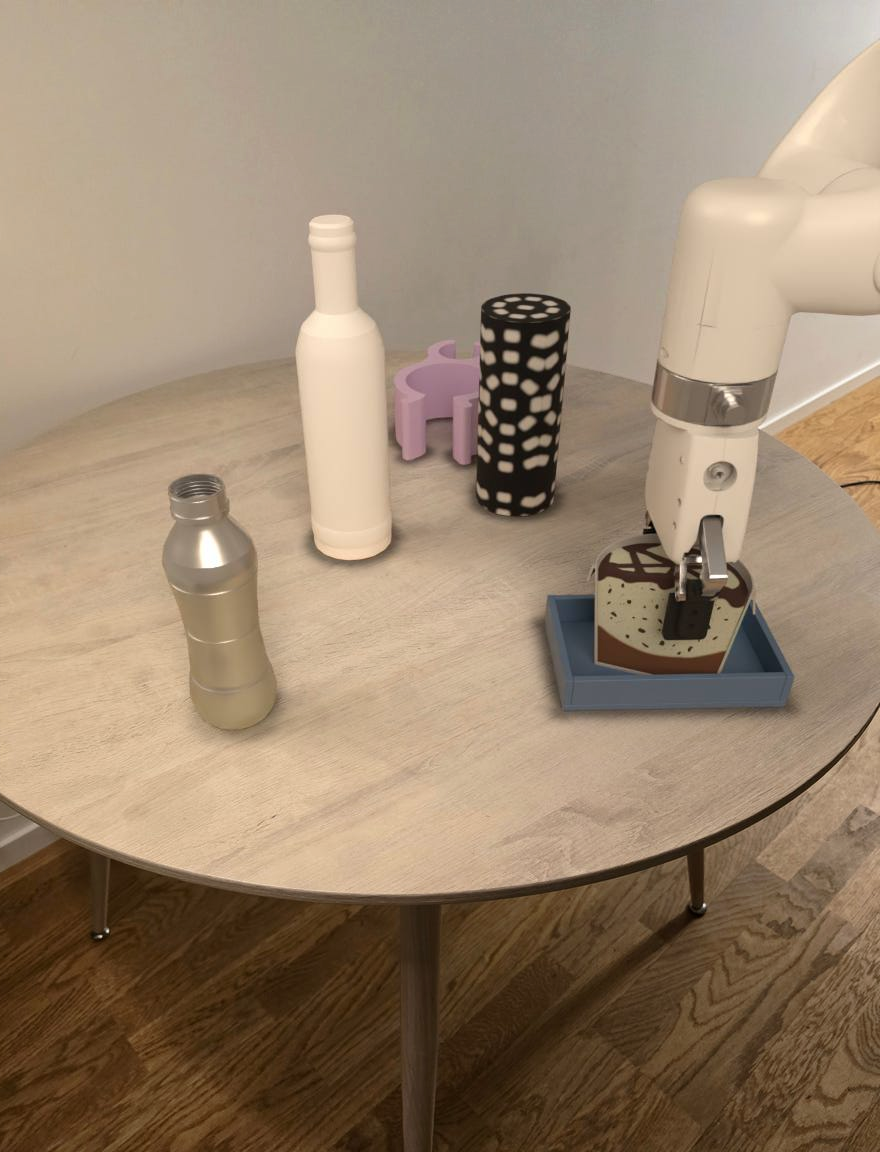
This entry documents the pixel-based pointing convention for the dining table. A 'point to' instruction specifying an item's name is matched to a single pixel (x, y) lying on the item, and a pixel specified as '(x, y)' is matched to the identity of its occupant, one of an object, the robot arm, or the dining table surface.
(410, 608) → the dining table surface
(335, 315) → the bottle
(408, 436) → the clip
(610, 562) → the food container
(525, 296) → the white-spotted black cylinder
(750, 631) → the tray
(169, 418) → the dining table surface
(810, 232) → the robot arm
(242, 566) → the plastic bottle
